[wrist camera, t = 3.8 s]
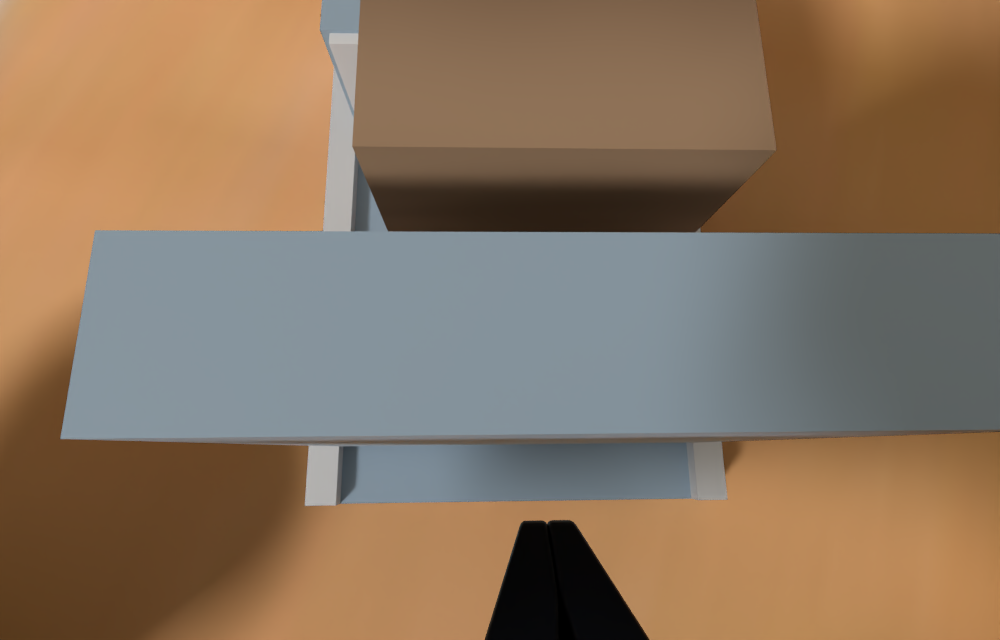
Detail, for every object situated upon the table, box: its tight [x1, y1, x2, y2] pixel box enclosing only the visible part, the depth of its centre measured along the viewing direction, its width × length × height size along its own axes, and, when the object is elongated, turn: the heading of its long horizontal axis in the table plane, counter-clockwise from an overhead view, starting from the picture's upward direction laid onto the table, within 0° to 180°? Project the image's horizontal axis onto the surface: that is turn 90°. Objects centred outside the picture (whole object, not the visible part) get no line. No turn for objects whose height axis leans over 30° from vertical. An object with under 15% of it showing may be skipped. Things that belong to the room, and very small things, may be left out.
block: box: [352, 0, 777, 233], centre depth 12 cm, size 4×5×10 cm
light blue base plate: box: [305, 68, 727, 506], centre depth 17 cm, size 14×11×1 cm
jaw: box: [60, 231, 1000, 446], centre depth 10 cm, size 2×10×10 cm, turn 91°
